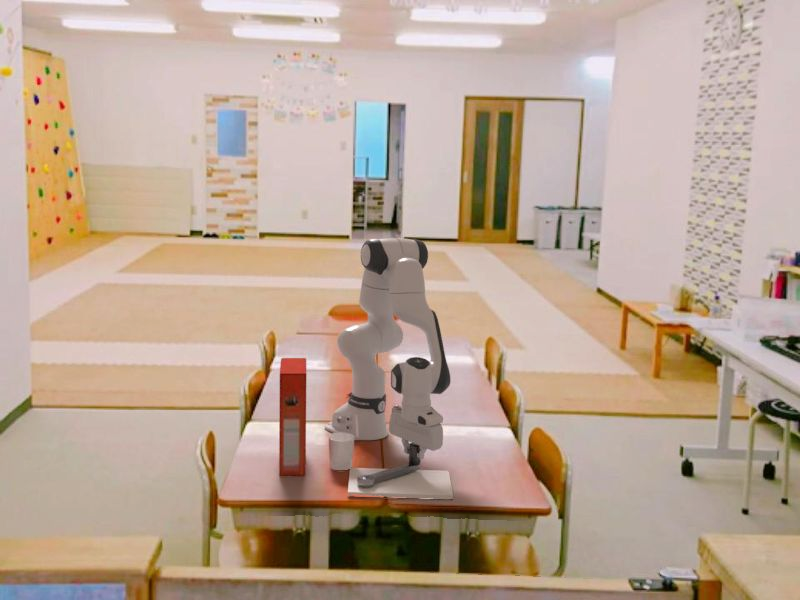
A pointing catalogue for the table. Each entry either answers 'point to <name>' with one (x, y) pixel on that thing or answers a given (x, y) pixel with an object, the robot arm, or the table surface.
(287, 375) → the file binder
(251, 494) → the table surface
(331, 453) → the white cup
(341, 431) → the robot arm
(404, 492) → the lever board
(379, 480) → the lever
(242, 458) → the table surface
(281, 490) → the table surface
